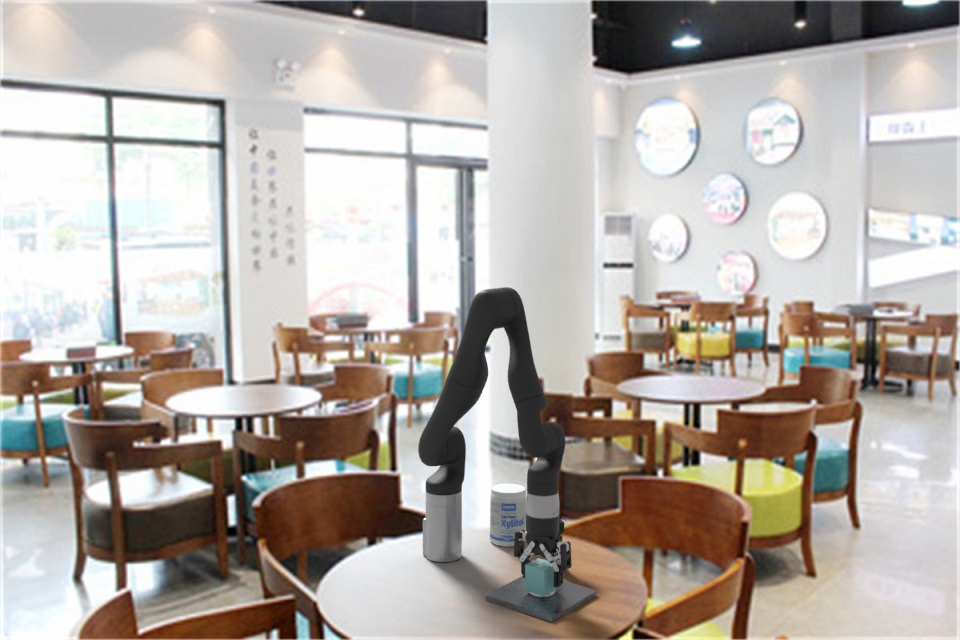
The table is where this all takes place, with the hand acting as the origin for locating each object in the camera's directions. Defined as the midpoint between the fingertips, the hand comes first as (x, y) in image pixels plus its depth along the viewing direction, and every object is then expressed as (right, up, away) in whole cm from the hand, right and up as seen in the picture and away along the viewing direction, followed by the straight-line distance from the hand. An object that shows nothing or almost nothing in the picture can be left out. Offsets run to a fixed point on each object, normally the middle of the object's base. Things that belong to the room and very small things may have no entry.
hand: (541, 581), depth 196 cm
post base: (0, -4, 0) cm, 4 cm away
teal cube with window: (0, -2, 0) cm, 2 cm away
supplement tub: (-7, -1, +37) cm, 37 cm away
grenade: (+4, -3, +16) cm, 17 cm away
